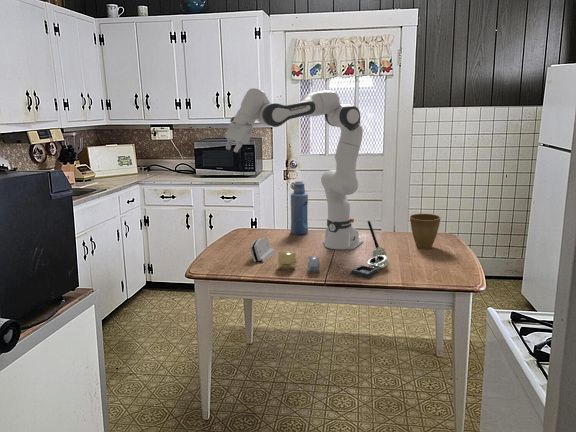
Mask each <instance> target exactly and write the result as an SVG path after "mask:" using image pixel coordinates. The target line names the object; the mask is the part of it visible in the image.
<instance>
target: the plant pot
mask: <svg viewBox="0 0 576 432" xmlns="http://www.w3.org/2000/svg"><path fill="white" fill-rule="evenodd" d="M409 221H410V228H411V233H412V237H413V239H414V243H415V245H416V248H418V249H420V250H421V249H422V250H430V249H431V248H432V247H433V244H435V241H436V238H437V234H438V231H439V228H440V223H441V216H440V215H437V214H432V213H415V214H411V215H410V216H409Z"/></svg>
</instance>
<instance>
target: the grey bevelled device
mask: <svg viewBox="0 0 576 432" xmlns="http://www.w3.org/2000/svg"><path fill="white" fill-rule="evenodd" d="M270 244H271V243H270V242H269V240H268V238H267V237H261V238H258V239H256V240H254V241H253V242H252V243H251V244H250V247H249V250H250V255H251V257H252V260H253V262H254V263H256V262H257V261H259V262H260V261H261V262H262V263H263V264H264V263H265V262H266V261H267V260H269V259H270V258H271V257H272V256H273V255H275V253H276V251H275V249H274V248H272V246H271V245H270Z"/></svg>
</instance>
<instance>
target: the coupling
mask: <svg viewBox="0 0 576 432" xmlns="http://www.w3.org/2000/svg"><path fill="white" fill-rule="evenodd" d="M306 265H307V273H308V272H309V273H313V274H315V273H320V267H321V263H320V257H318V256H313V255H312V256H308V258H307V263H306Z"/></svg>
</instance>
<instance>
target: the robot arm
mask: <svg viewBox="0 0 576 432" xmlns="http://www.w3.org/2000/svg"><path fill="white" fill-rule="evenodd" d="M322 115H323V116H324V119H325V122H326V123H327V124H328V125H329V126H331V127H335V128H339V129H340V137H339V139H338V143H337V145H336V146H337V147H336V151H335V155H334V159H335V167H336V168H335V169H330V170H326V171H324V172H323V173H322V175H321V177H320V181H321V182H320V183H321V185H322V186H323V188H324V192H325V196H326V202H327V218H326V219H327V221H326V226H327V227H326V228H325V232H324V233H325V234H324V236H325V237H324V240H323V242H322V243H323V244H324V247H325V248H327V249H331V250H354V249H356V248H357V247H358V246H360V245H361V244H362V243H364V240H363V239H361V238H360V237H359V236H360V235H359V234H360V233H359V231H358V230H357V229H356V228H355V227H353V225H352V224H353V223H354V222H355V219H354V218H350V217H351V214H350V213H351V211H350V208H351V207H350V206H351V205H350V202H349V200H348V198H347V196H350V195H353V194H355V193H356V192H357V190H358V188H359V181H358V179H357V171H356V170H357V160H358V156H359V154H360V149H361V145H362V141H363V132H364V130H363V126H362V125H361V111H360V109H359V107H357V106H355V105H352V104H346V103H343V104H342V103H341V102H340V97H339V95H338V93H337V92H335V91H333V90H321V91H315V92H311V93H307V94H305V95H303V96H301V98H300V101H299V102H295V103H290V104H286V105H284V104H281V103H272V102H271V101H270V99H269V98H268V96H267V94H266V92H265V91H264V90H261V89H259V88H255V87H254V88H249V89H248V90H247V91H246V93H245V95H244V96H243V99H242V101H241V103H240V107H239V109H238V111H237V112H236V114H235V115H234V116H233V117H231V118H230V120H229V122H230V123H229V125H228V127H227V130H226V132H225V136H224V137H225V139H227V142H226V146H225V149H226V150H228V151H231V149H232V144H233V142H236V145H235V147H234V148H233V152H234V153H239V150H240V149H241V148H242V147H243V145H247V144H249V141H250V139H251V136H252V134H253V127H254V125H255V122H256V121H257V122H258V123H260V124H261V125H262V126H263V125H264V126H269V127H273V128H275V127H277V128H278V127H280V126H282V125H283V124H285V123H286V122H287V121H289V120H292V119H296V118H300V117H308V118H311V117H313V118H314V117H318V116H322Z"/></svg>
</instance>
